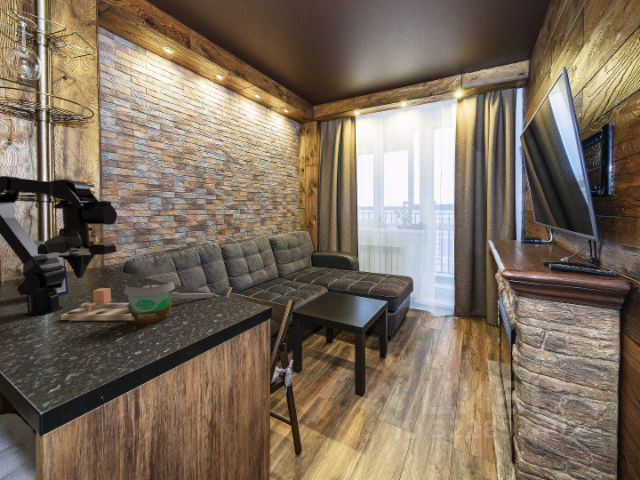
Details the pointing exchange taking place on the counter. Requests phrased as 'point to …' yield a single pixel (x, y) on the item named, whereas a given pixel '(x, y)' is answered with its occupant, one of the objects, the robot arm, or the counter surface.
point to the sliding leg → (100, 297)
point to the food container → (150, 303)
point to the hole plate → (100, 312)
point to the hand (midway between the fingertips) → (80, 277)
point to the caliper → (190, 295)
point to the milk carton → (64, 287)
